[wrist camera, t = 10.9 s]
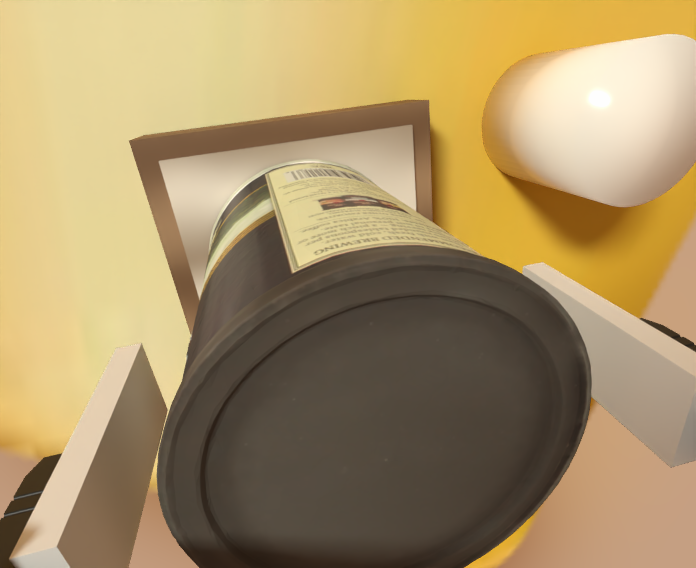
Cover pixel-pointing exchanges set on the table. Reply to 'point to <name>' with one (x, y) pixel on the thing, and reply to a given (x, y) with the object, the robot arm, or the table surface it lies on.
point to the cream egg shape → (598, 119)
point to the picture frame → (266, 151)
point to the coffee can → (362, 386)
